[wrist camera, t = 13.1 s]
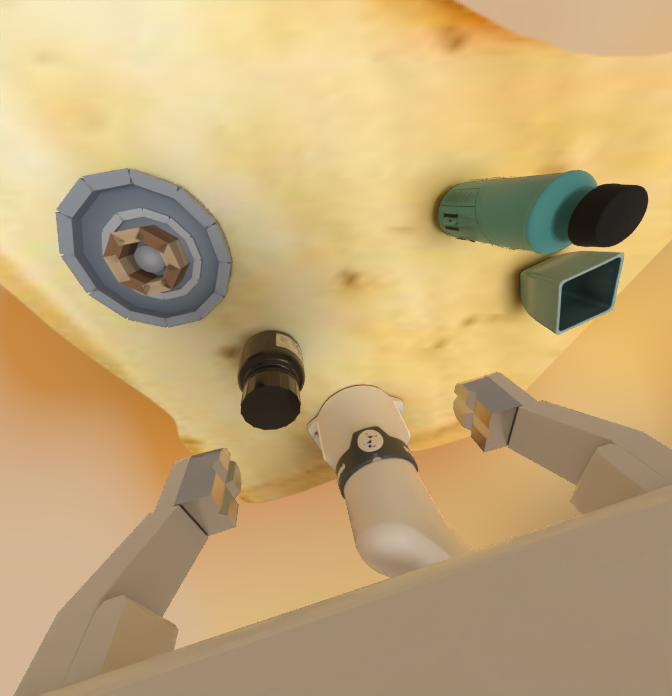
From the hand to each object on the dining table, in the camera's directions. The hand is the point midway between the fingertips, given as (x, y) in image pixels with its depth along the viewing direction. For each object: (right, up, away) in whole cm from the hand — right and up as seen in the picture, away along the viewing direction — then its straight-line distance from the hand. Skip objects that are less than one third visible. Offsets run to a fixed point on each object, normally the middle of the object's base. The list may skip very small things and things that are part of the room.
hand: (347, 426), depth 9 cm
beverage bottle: (+15, +21, +26) cm, 37 cm away
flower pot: (+32, +14, +34) cm, 49 cm away
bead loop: (-21, +13, +21) cm, 32 cm away
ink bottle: (-10, +2, +31) cm, 33 cm away
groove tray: (-21, +14, +22) cm, 33 cm away
